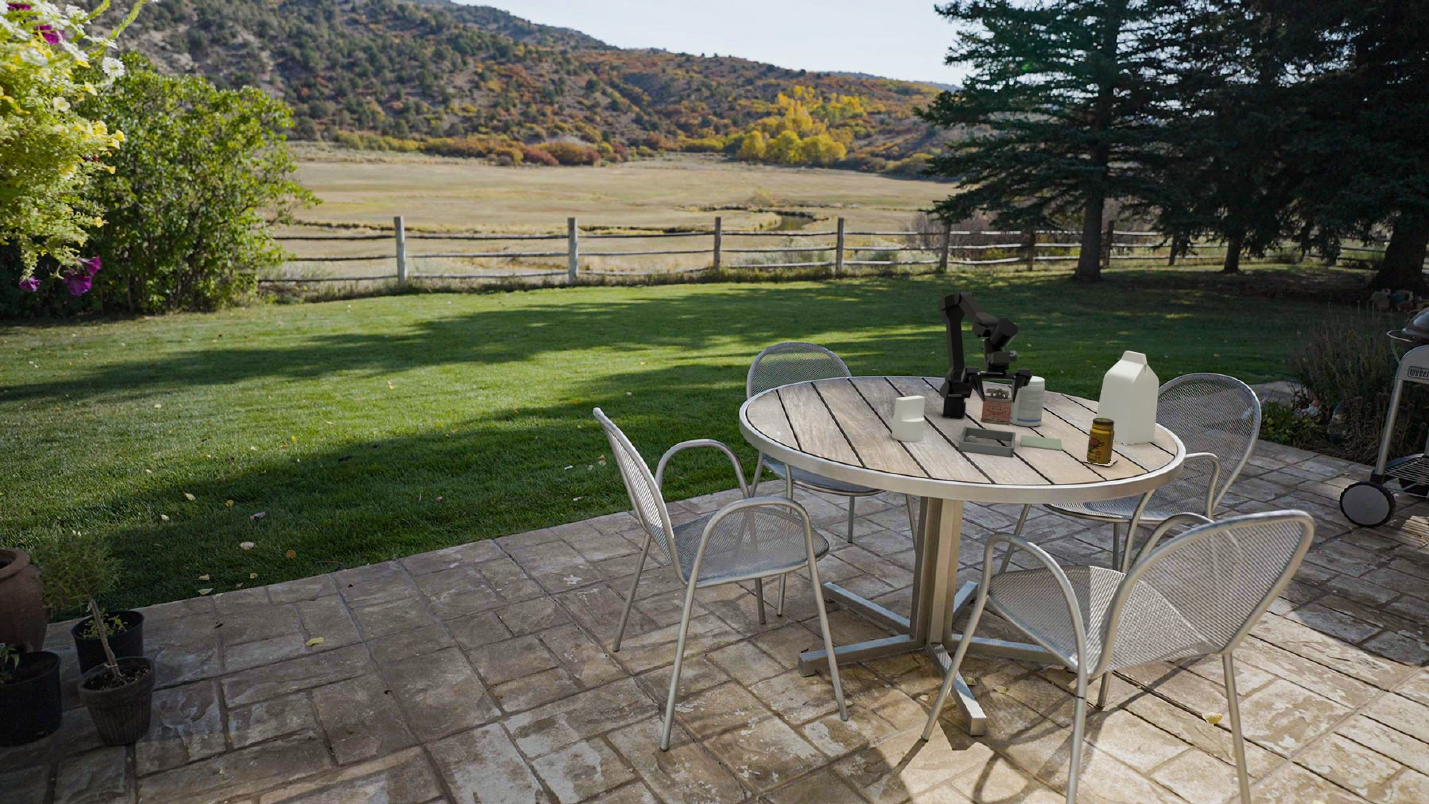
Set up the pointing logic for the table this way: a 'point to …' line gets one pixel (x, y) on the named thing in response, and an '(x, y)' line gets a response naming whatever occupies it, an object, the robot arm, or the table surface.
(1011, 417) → the supplement tub
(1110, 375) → the milk
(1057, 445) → the mat
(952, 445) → the table surface
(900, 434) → the base with upright slab
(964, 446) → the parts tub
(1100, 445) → the condiment
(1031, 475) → the table surface
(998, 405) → the lighter
